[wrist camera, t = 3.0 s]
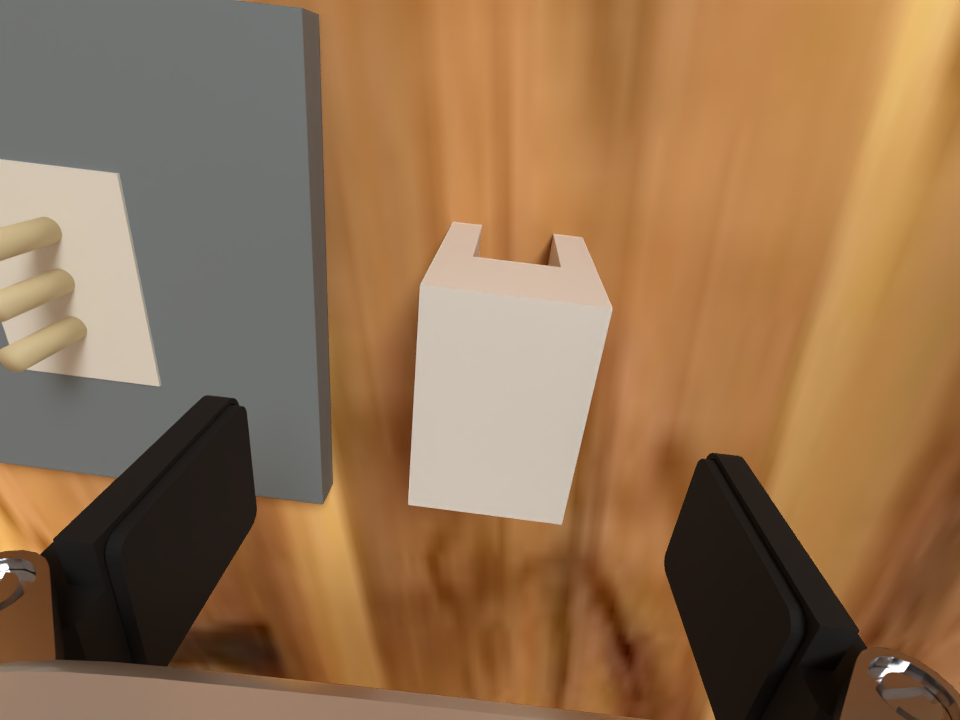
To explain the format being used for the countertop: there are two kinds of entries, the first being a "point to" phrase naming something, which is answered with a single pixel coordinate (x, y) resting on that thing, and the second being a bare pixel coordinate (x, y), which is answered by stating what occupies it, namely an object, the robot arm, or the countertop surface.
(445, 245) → the plug housing
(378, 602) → the countertop surface
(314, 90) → the pin board
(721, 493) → the robot arm
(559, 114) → the countertop surface
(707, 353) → the countertop surface
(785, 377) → the countertop surface
